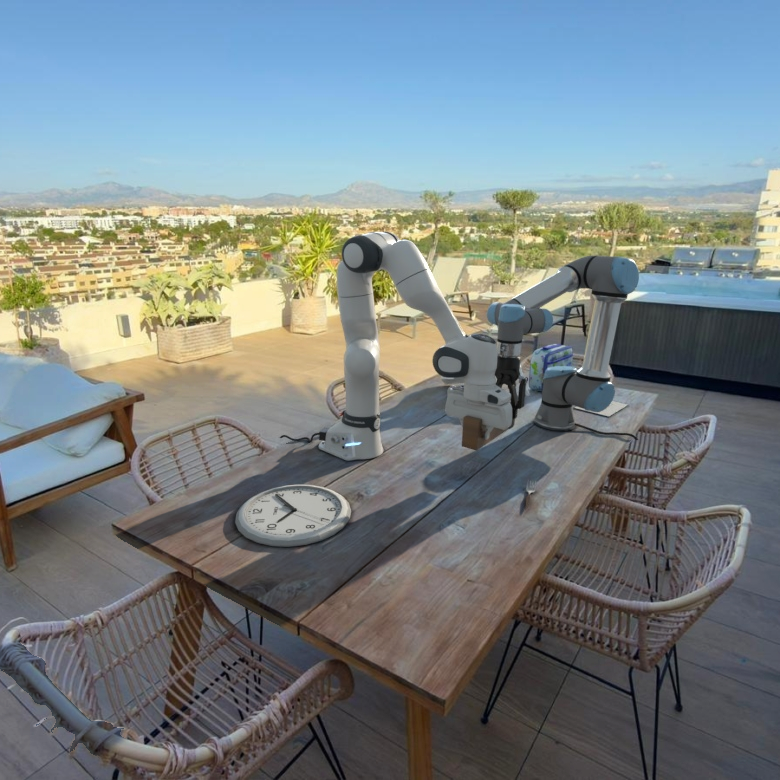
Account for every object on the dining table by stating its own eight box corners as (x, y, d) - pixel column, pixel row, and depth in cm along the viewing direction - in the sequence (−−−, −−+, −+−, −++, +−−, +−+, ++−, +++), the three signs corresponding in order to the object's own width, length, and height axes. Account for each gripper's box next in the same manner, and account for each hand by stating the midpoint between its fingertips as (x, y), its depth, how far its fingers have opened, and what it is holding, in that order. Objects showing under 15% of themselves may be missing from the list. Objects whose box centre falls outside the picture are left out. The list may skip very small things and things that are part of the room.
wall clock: (351, 538, 125) (223, 542, 122) (351, 544, 125) (223, 548, 123) (350, 480, 153) (246, 482, 151) (350, 485, 154) (246, 487, 151)
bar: (500, 421, 173) (502, 395, 170) (514, 425, 170) (516, 398, 167) (461, 446, 153) (463, 417, 150) (476, 450, 150) (478, 421, 148)
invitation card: (608, 416, 214) (573, 407, 224) (608, 416, 214) (573, 408, 224) (628, 404, 229) (594, 396, 238) (628, 405, 229) (594, 397, 238)
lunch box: (545, 396, 239) (550, 351, 232) (524, 391, 246) (528, 347, 240) (572, 385, 256) (577, 343, 250) (552, 380, 263) (557, 339, 257)
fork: (520, 510, 142) (521, 503, 141) (526, 484, 156) (527, 478, 155) (530, 512, 141) (531, 505, 140) (535, 486, 155) (536, 480, 154)
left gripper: (442, 386, 153) (440, 430, 157) (507, 400, 142) (502, 447, 146) (453, 382, 158) (450, 424, 162) (516, 395, 146) (512, 441, 150)
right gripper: (476, 352, 164) (471, 422, 171) (531, 362, 153) (524, 435, 160) (487, 348, 169) (482, 416, 176) (541, 357, 159) (533, 428, 166)
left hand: (476, 435), depth 154 cm, fingers closed on bar, 5 cm apart
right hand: (502, 425), depth 168 cm, fingers closed on bar, 5 cm apart
